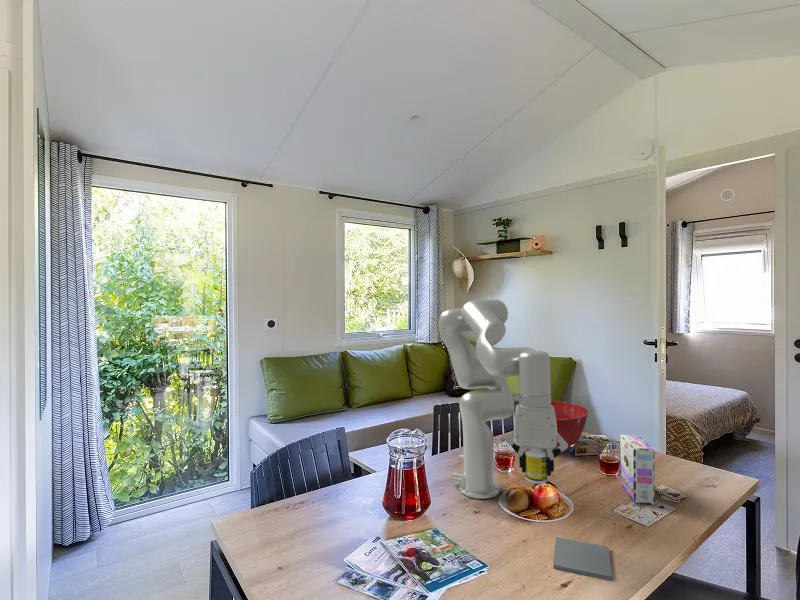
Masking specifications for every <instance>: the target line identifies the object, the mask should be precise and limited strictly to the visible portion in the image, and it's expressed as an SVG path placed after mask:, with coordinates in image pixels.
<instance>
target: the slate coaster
mask: <svg viewBox="0 0 800 600" xmlns="http://www.w3.org/2000/svg"><path fill="white" fill-rule="evenodd" d="M609 549H610V548H609V546H608V545H607V546H606V545H602V544H596V543H590V542H585V541H580V540H575V539H568V538H563V537H558V536H556V537H555V543H554V551H553V552H554V553H553V563H552V566H553V569H556V570H561V571H565V572H571V573H575V574H579V575H584V576H590V577H594V578H598V579H603V580H609V581H612V580H613V574H612V566H611V558H610V550H609Z"/></svg>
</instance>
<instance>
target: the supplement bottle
mask: <svg viewBox="0 0 800 600" xmlns="http://www.w3.org/2000/svg"><path fill="white" fill-rule="evenodd" d="M524 451H525V472H524V474H525V480H527V482H529V483H532V484H541V485H542V484H546V483H547V482H548V481H549V476H548V475H547V459H548V453H547V451H546V450H545V449H539V448H530V447H526V448H525V450H524Z"/></svg>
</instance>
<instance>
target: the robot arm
mask: <svg viewBox="0 0 800 600" xmlns="http://www.w3.org/2000/svg"><path fill="white" fill-rule="evenodd" d="M508 316H509V310H508V307H507V306H506V303H505V302H503V301H502V300H500V299H494V298H493V299H492V298H491V299H472V300H469V301H467V302H465V304H463V306H462V307H460V308H451V309H447V310H445V311H443V312H441V314H440V315H439V318H438V330H439V334H440V337H441V340H442V341H443V344H444V346H445V348H446V349H447V351H448V353H449V356H450V360H451V364H452V366H453V367H452V369H453V370H454V375H455V379H456V381H457V384H458V385H459V387H460V388H462V389H463V390H464V389H465V390H471V391H469V392H466V393H464V394H463V395H461V397H460V400H459V404H458V405H459V411H460V417H461V423H462V436H463V438H462V441H463V442H462V443H463V445H462V446H463V450H462V451H463V452H462V453H463V472H460V473H457V472H451V475H450V477H451V479H452V482H456V483H459V486H458V488H459V492H460V493H461V494H462V495H464V496H466V497H468V498H472V499H479V500H480V499H481V500H485V499H491V498H494V497H497V496H498V495H499V493H500V486H499V485H498V484H497V483H496V482H495V458H494V457H495V451H494V449H495V447H494V446H495V445H494V442H495V441H494V434H493V432H492V430H491V429H490V427H489V426H488V424H487V422H490V421H498V420H503V419H508V418H510V417H512V415H513V414H514V429H513V430H512V432H511V433H510V434H509V435H508V436H507V437H506V438H505V442H506V443H507V444H508V445H509V446H510V447H511V448H512V449H513V451H514V452H515V453H517V456H518V458H519V459H518V460H519V463H518V464H519V468H520V469H521V472H522V473H524V474H525V450H526V448H529V447H530V448H539V449H546V450H547V454H548V459H547V475H548V477H551V476H552V473H554V472H555V459H556V458H557V457H558V456H559V455H560V454H561V453H562V452H565V451H564V450H566V449H567V448H568V444H567V443H566V442H565V440H564V439H563V438H562V437H561V436H560V435H559V434H558V432H557V423H556V415H555V410H554V407H553V406H552V405H551V401H552V396H551V389H552V388H551V385H552V383H551V358H550V355H549V353H548V352H546V351H543V350H536V349H534V348H531V347H527V346H524V347H523V346H519V347H518V346H517V347H503V348H502V347H501V348H496V347H495V345H497V344H498V343H500V342H501V341H502V340H503V339H504V337H505V335H506V329H507V328H506V324H505V323H506V322H507V320H508V318H509V317H508ZM465 333H466V334H468V333H469V334H470V333H471V334H472V333H473V334H475V336H476V337H477V339H476V344H475V348H476V349H475V348H474V345H473V344H472V343H471V342H470V341H469V340H468V338H466V337H465V336H463V334H465ZM507 377H518V378H519V379H518V381H519V382H518V385H519V386H518V387H519V389H518V390H519V392H518V393H517V394H513V393H512V391H511V389H510V388H511V387H510V385H509V382H508V380H507ZM486 388H488V389H486ZM473 389H474V390H473ZM476 389H481V390H476ZM512 394H513V395H512ZM515 401H518V404H516V405H517V406H516V405H515V403H514V402H515ZM515 406H516V411H515ZM514 411H515V413H514ZM557 441H558V442H559V444H560V446H559V447H557V448H556V446H557ZM554 448H556V449H555V450H553V449H554Z"/></svg>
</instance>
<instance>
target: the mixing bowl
mask: <svg viewBox="0 0 800 600" xmlns="http://www.w3.org/2000/svg"><path fill="white" fill-rule="evenodd" d="M517 405H518V404H516V405H514V411H515V412H516V406H517ZM551 405H552V406H553V407H554V410H555V415H556V423H557V432H558V434H559V435H560V436H561V437H562V438H563V439H564V440H565V442H566V443H567V444H568V448H567V449H566V450H567V451H569V450H570V449H571V448H570V446H571V445H573V444H575V445H576V444H578V442H579V439H580V437H581V436H582V435H583V431H584V430H585V429H584V428H585V426H586V422H587V418H588V415H589V410H588V409H587V408H586V407H585V406H582V405H579V404H576V403H571V402H566V401H558V400H557V401H556V400H555V401H554V400H551ZM559 446H560V444H559V442H558V441H557V446H556V448H557V447H559ZM556 448H554V449H553V450H555V449H556ZM569 448H570V449H569ZM545 450H546V449H545ZM566 450H564V451H563V452H567V451H566ZM546 451H547V450H546Z"/></svg>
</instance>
